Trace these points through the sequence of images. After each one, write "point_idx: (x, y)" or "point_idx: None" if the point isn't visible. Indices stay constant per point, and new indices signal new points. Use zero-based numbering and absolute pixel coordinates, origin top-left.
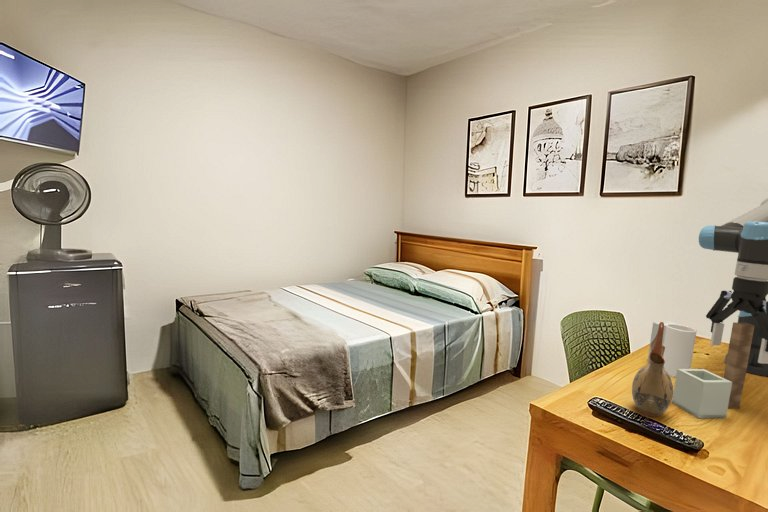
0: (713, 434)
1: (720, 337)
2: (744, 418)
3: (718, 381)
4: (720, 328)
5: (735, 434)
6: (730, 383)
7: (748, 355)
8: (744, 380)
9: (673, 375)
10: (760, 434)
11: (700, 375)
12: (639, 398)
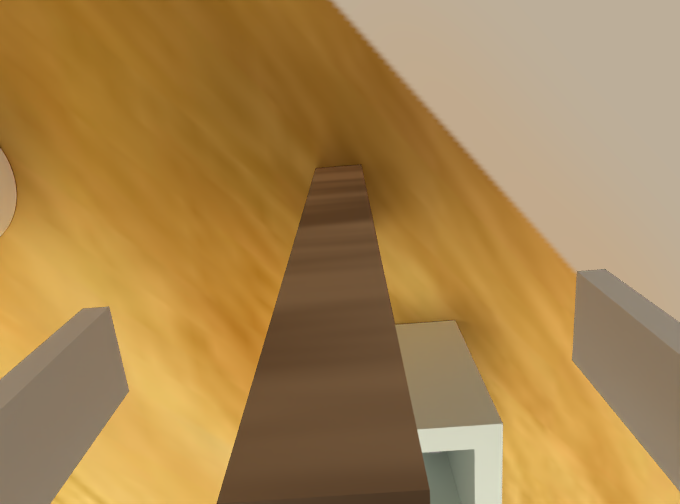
0: (567, 467)
1: (72, 367)
2: (461, 237)
3: (493, 496)
4: (7, 463)
5: (576, 390)
6: (501, 428)
7: (379, 259)
8: (367, 195)
9: (2, 231)
10: None
11: None
12: None
